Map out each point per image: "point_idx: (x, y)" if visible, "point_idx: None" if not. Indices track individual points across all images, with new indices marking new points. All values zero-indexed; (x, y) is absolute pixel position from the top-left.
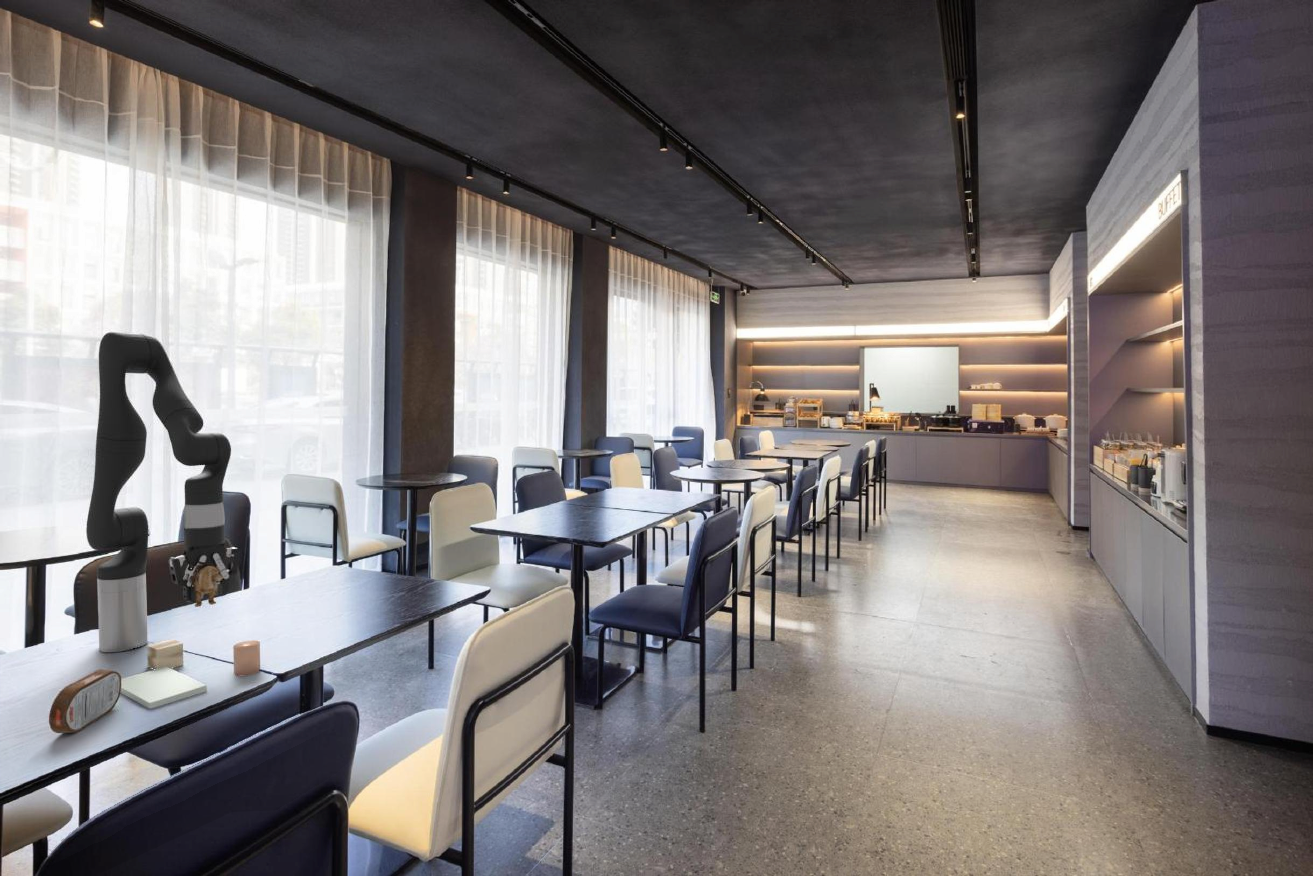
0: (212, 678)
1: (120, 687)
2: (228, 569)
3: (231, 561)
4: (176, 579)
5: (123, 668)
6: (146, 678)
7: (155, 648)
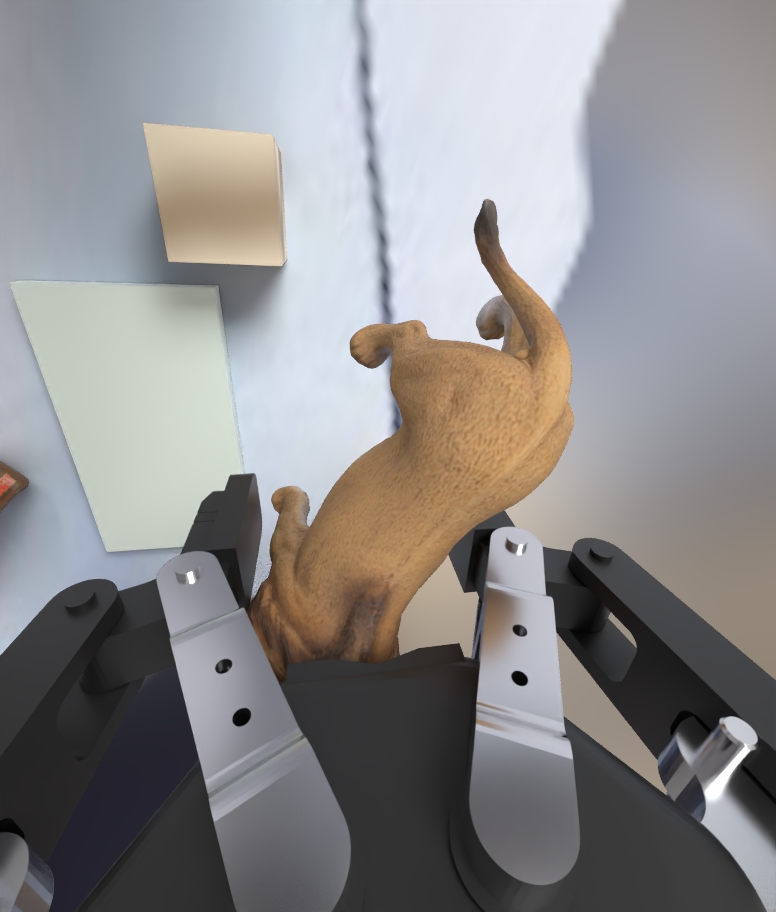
0: (298, 462)
1: (15, 494)
2: (582, 598)
3: (637, 700)
4: (57, 717)
5: (83, 42)
6: (129, 360)
7: (166, 230)
